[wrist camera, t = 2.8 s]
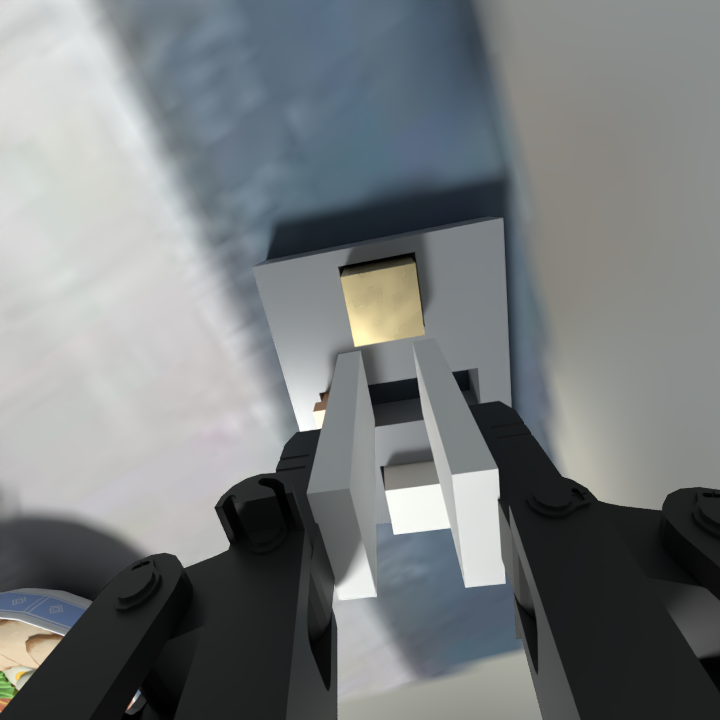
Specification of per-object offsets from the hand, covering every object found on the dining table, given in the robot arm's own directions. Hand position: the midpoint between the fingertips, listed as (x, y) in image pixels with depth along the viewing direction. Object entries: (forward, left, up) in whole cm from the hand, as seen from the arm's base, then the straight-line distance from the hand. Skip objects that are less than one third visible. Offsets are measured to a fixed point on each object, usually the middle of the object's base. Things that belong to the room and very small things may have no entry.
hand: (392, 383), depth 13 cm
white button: (+16, 0, -14) cm, 22 cm away
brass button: (0, 0, -14) cm, 14 cm away
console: (+8, 0, -16) cm, 18 cm away
